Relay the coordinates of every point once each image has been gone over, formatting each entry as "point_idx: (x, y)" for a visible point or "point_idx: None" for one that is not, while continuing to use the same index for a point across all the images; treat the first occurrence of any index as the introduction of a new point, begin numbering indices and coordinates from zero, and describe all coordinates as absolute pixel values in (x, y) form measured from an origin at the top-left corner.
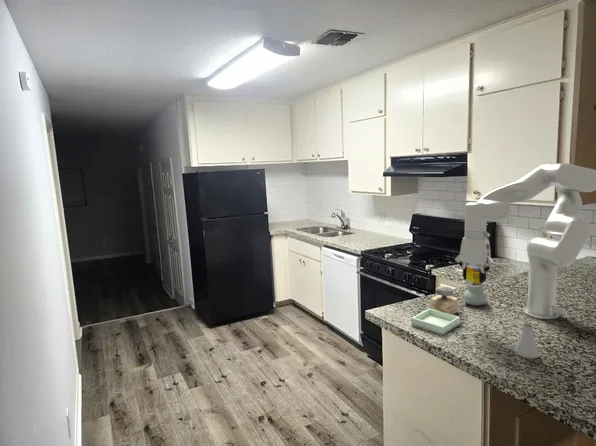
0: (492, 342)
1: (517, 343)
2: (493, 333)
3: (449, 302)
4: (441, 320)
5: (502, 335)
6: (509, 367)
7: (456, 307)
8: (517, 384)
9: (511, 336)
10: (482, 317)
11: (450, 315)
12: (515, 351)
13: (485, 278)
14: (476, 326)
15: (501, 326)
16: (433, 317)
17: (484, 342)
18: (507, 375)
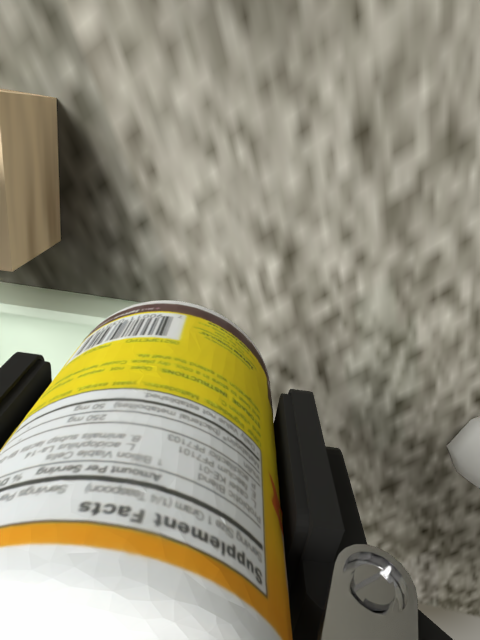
0: (356, 417)
1: (476, 473)
2: (347, 325)
3: (7, 251)
4: (67, 340)
5: (391, 325)
6: (431, 549)
7: (39, 121)
8: (454, 609)
9: (435, 313)
10: (239, 110)
11: (93, 323)
12: (454, 461)
13: (339, 475)
14: (248, 285)
15: (376, 204)
16: (9, 323)
17: (325, 433)
18: (426, 586)
